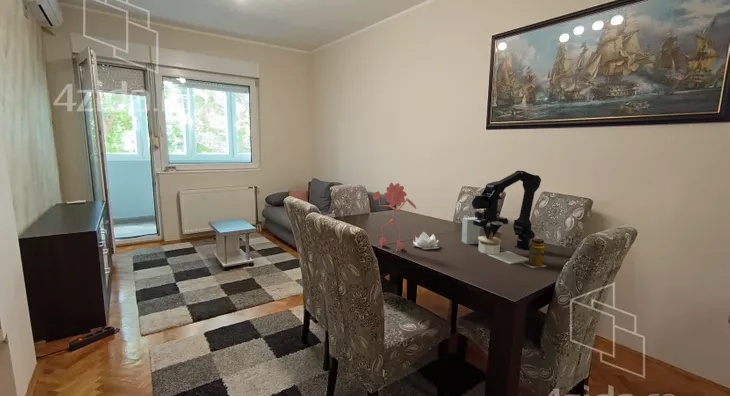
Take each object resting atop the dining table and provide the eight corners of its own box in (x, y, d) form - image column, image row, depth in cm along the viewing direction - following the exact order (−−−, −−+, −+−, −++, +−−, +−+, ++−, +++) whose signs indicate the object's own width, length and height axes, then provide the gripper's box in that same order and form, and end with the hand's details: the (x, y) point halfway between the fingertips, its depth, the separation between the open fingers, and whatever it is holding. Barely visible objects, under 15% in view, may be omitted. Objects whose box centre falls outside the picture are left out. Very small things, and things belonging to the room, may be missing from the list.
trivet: (507, 252, 173) (507, 251, 173) (530, 260, 161) (530, 259, 161) (487, 255, 167) (487, 254, 167) (509, 264, 155) (509, 263, 155)
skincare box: (474, 242, 192) (475, 216, 190) (479, 244, 186) (481, 218, 184) (460, 242, 190) (462, 217, 188) (466, 245, 184) (467, 219, 182)
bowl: (488, 248, 180) (489, 239, 179) (503, 253, 171) (504, 244, 170) (474, 250, 176) (474, 241, 175) (488, 256, 166) (489, 246, 166)
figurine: (410, 256, 164) (413, 185, 159) (366, 247, 178) (367, 182, 173) (422, 249, 177) (425, 183, 172) (380, 241, 191) (382, 180, 186)
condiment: (547, 266, 153) (549, 241, 151) (532, 268, 150) (534, 242, 149) (535, 261, 160) (537, 237, 158) (520, 262, 157) (522, 238, 156)
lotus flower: (439, 245, 184) (440, 230, 183) (438, 253, 170) (439, 237, 169) (413, 243, 188) (414, 228, 187) (410, 251, 173) (410, 234, 172)
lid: (489, 236, 180) (490, 228, 179) (506, 241, 169) (507, 233, 169) (473, 238, 175) (473, 230, 174) (489, 244, 165) (490, 235, 164)
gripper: (493, 204, 181) (491, 232, 183) (466, 206, 173) (464, 235, 175) (510, 208, 171) (507, 237, 173) (482, 210, 163) (480, 241, 165)
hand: (489, 237), depth 172 cm, fingers closed on lid, 3 cm apart
